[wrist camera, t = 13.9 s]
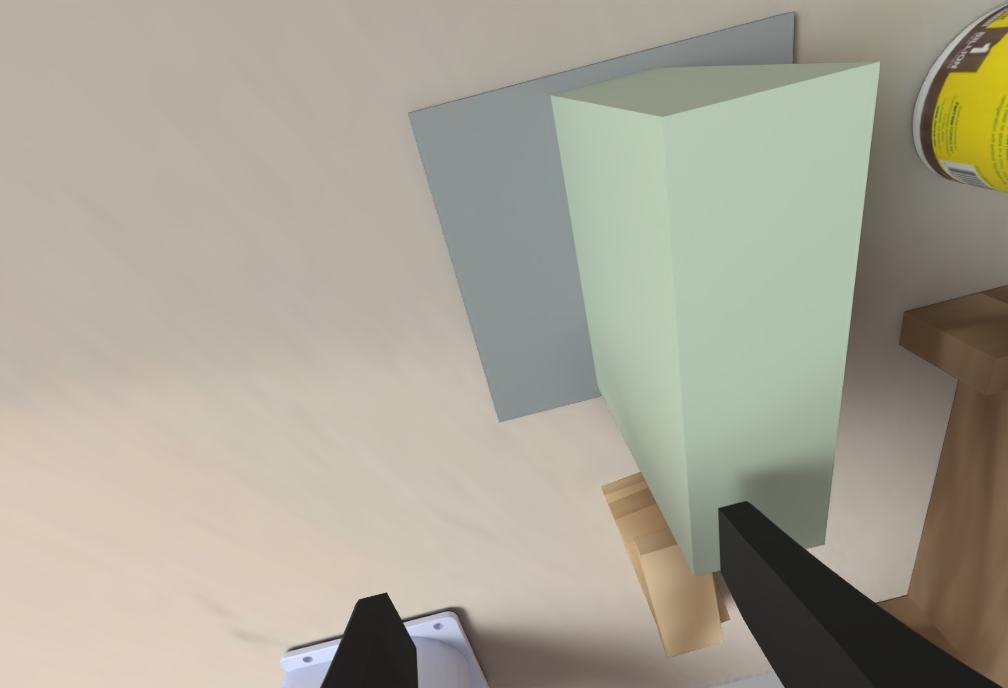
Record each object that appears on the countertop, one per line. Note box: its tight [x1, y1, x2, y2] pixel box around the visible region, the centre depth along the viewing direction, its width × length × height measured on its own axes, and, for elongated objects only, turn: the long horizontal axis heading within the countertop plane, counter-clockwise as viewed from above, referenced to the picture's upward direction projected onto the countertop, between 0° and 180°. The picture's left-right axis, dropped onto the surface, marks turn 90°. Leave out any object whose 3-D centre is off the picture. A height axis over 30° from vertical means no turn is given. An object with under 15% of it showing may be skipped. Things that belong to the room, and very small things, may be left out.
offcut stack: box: [601, 472, 731, 658], centre depth 26 cm, size 4×12×3 cm, turn 21°
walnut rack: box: [876, 286, 1008, 688], centre depth 24 cm, size 5×22×6 cm, turn 13°
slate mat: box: [408, 12, 794, 422], centre depth 19 cm, size 12×12×1 cm
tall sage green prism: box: [551, 62, 880, 577], centre depth 14 cm, size 3×11×9 cm, turn 13°
